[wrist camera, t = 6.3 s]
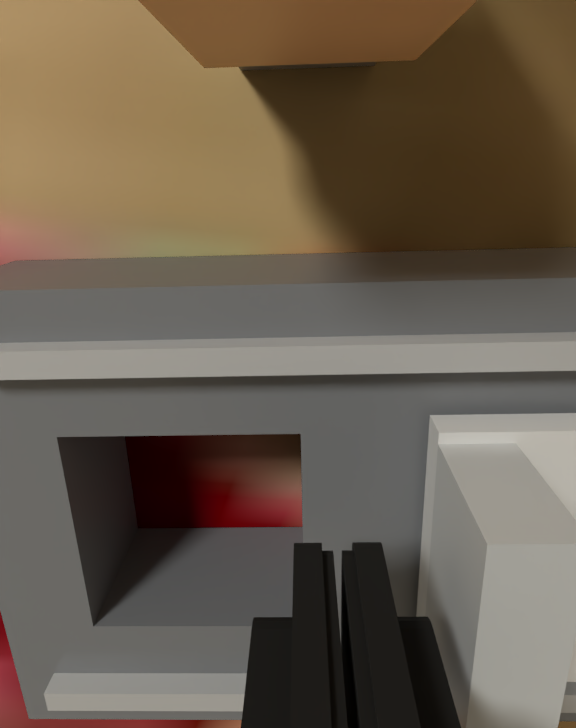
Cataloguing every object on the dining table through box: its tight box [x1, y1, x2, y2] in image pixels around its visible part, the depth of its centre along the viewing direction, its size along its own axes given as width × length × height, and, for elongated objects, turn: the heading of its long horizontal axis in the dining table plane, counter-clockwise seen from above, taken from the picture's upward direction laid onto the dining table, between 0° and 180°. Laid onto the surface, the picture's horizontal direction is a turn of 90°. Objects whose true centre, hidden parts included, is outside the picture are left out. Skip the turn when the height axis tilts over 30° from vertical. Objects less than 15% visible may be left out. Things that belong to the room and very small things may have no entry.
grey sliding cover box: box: [0, 247, 576, 721], centre depth 14 cm, size 12×16×5 cm
